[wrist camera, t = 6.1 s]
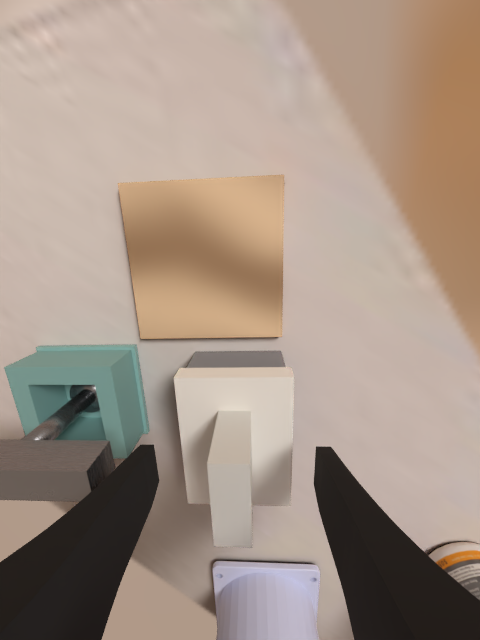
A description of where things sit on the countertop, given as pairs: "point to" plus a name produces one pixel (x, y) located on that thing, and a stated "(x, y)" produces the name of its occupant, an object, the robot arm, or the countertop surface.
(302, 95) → the countertop surface
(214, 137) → the countertop surface
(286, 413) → the cover
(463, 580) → the pill bottle
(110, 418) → the key socket
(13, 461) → the t key
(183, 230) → the cork mat
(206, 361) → the box
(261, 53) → the countertop surface
